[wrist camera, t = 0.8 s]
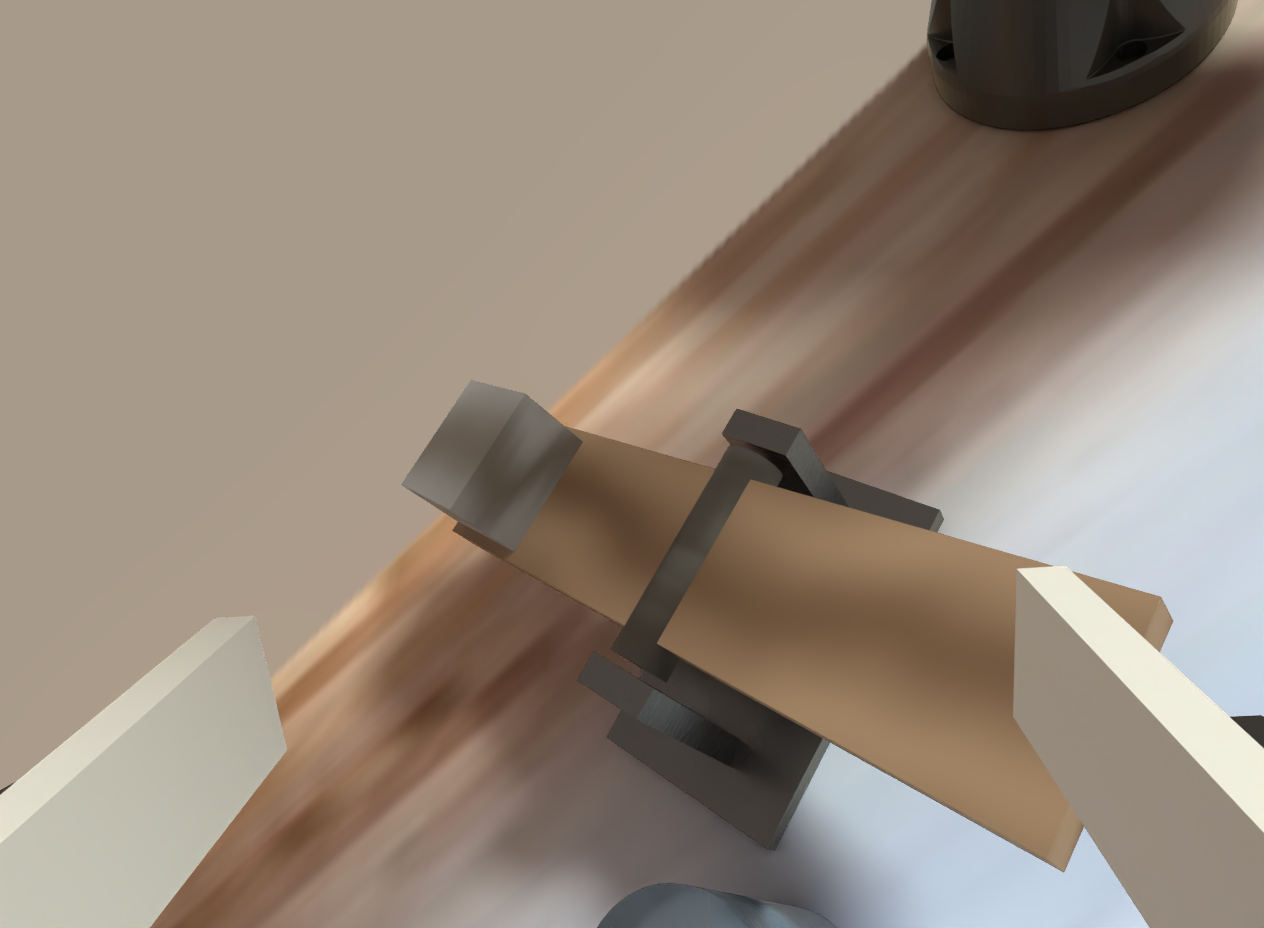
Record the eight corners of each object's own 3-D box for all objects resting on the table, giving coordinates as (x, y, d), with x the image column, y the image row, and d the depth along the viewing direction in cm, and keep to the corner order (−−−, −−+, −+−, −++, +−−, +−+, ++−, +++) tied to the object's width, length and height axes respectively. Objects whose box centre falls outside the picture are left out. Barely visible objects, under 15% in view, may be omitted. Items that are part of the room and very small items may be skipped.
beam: (561, 419, 45) (482, 354, 42) (1191, 594, 22) (1140, 483, 19) (469, 564, 43) (378, 509, 40) (1052, 914, 21) (966, 861, 17)
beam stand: (776, 460, 43) (701, 353, 36) (944, 519, 38) (896, 407, 30) (616, 741, 40) (497, 688, 33) (774, 851, 35) (674, 817, 27)
